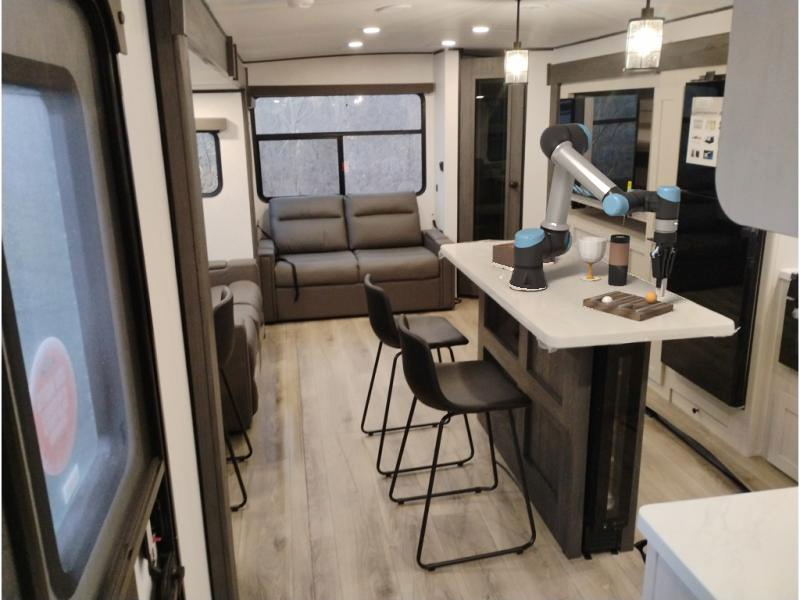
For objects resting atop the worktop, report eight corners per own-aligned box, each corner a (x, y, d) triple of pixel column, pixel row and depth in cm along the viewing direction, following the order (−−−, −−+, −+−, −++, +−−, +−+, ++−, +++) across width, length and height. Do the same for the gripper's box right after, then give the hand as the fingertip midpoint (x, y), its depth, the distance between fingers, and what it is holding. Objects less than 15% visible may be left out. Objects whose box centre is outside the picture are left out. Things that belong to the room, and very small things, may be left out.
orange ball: (642, 302, 231) (643, 291, 230) (649, 300, 233) (650, 290, 232) (652, 305, 228) (653, 294, 227) (659, 303, 230) (660, 292, 229)
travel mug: (628, 282, 268) (632, 235, 262) (624, 287, 261) (628, 238, 256) (609, 281, 271) (612, 233, 266) (605, 285, 265) (608, 236, 260)
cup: (574, 281, 273) (576, 241, 268) (576, 274, 283) (578, 236, 279) (603, 282, 269) (606, 242, 264) (604, 276, 280) (607, 237, 275)
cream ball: (601, 294, 236) (607, 296, 238) (598, 305, 236) (604, 307, 238) (610, 296, 232) (616, 298, 235) (607, 306, 233) (613, 308, 235)
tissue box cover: (513, 272, 292) (513, 250, 289) (492, 266, 304) (492, 245, 301) (554, 264, 305) (555, 243, 302) (533, 259, 317) (533, 238, 314)
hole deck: (582, 306, 238) (583, 298, 237) (615, 297, 248) (616, 289, 247) (639, 321, 219) (640, 312, 218) (672, 311, 229) (673, 302, 228)
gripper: (664, 234, 220) (658, 301, 226) (686, 230, 227) (679, 295, 234) (644, 231, 226) (639, 297, 232) (666, 227, 233) (661, 290, 240)
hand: (659, 295), depth 233 cm, fingers closed
